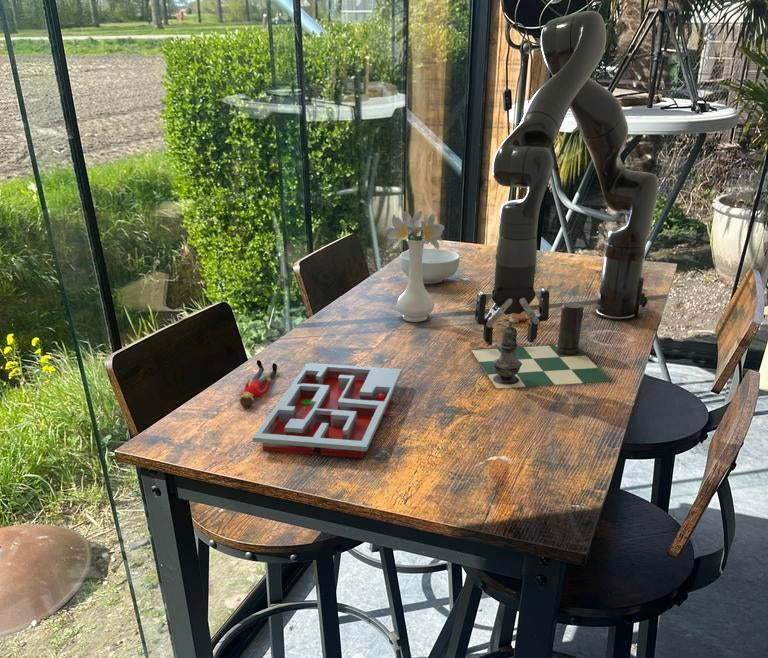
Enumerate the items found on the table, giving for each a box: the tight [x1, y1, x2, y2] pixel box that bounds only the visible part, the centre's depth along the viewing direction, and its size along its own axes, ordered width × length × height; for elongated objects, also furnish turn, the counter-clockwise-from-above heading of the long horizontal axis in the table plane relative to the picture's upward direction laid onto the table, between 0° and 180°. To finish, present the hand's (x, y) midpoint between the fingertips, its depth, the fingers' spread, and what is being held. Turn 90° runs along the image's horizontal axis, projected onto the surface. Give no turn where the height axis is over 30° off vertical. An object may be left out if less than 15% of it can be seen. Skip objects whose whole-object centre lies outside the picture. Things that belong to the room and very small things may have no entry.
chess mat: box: [470, 344, 612, 390], centre depth 170 cm, size 24×22×1 cm
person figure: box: [239, 359, 278, 409], centre depth 159 cm, size 5×4×18 cm
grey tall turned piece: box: [493, 322, 522, 385], centre depth 160 cm, size 6×6×12 cm
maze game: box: [252, 362, 403, 459], centre depth 148 cm, size 35×20×3 cm, turn 169°
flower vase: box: [385, 210, 445, 323], centre depth 192 cm, size 13×18×25 cm
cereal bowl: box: [399, 248, 460, 285], centre depth 225 cm, size 17×17×7 cm
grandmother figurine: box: [508, 312, 527, 324], centre depth 193 cm, size 8×4×13 cm, turn 143°
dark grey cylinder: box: [555, 301, 585, 355], centre depth 175 cm, size 5×5×10 cm
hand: (509, 342), depth 159 cm, fingers open, 8 cm apart
